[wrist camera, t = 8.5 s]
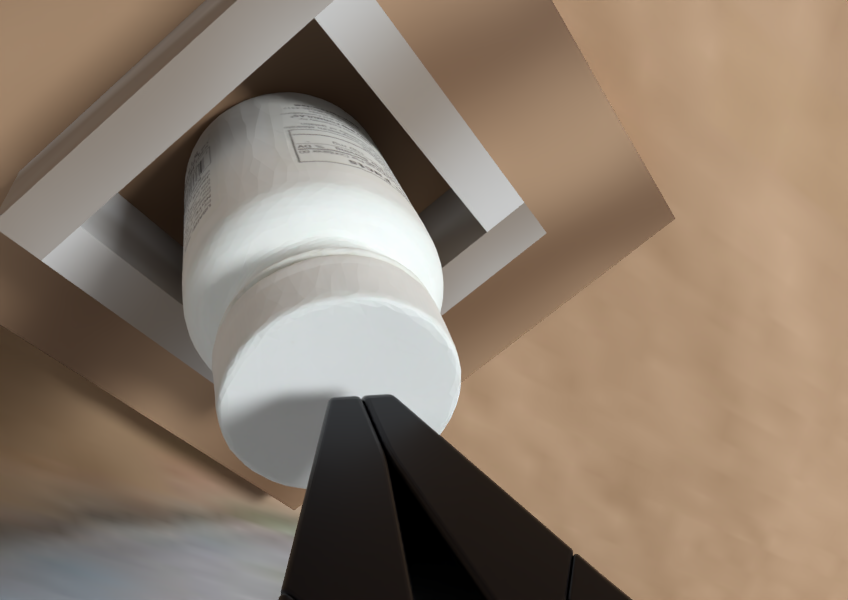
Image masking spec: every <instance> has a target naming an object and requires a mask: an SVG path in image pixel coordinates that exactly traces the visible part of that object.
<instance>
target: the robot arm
mask: <svg viewBox="0 0 848 600" xmlns="http://www.w3.org/2000/svg"><path fill="white" fill-rule="evenodd" d="M279 600H632V599H631V598H630V597H628V596H627V595H626V594H625V593H624V592H622V591H621V590H620V589H619V588H617V587H616V586H615V585H614V584H613V583H611V582H610V581H609V580H608V579H607V578H605V577H604V576H603V575H602V574H600V573H599V572H598V571H597V570H596V569H595V568H593V567H592V566H591V565H590V564H589V563H588V562H587V561H585V560H584V559H583V558H582V557H581V556H580V555H578V554H575V555H573V550H572V549H571V548H570V547H569V546H568V545H567V544H565V543H564V542H563V541H562V540H561V539H560V538H558V537H557V536H556V535H555V534H554V533H553V532H551V531H550V530H549V529H548V528H547V527H546V526H545V525H543V524H542V523H541V522H540V521H539V520H538V519H536V518H535V517H534V516H533V515H532V514H531V513H529V512H528V511H527V510H526V509H525V508H524V507H523V506H521V505H520V504H519V503H518V502H517V501H516V500H514V499H513V498H512V497H511V496H510V495H509V494H507V493H506V492H505V491H504V490H503V489H502V488H501V487H499V486H498V485H497V484H496V483H495V482H494V481H492V480H491V479H490V478H489V477H488V476H487V475H485V474H484V473H483V472H482V471H481V470H480V469H478V468H477V467H476V466H475V465H474V464H473V463H472V462H470V461H469V460H468V459H467V458H466V457H465V456H463V455H462V454H461V453H460V452H459V451H458V450H456V449H455V448H454V447H453V446H452V445H451V444H450V443H448V442H447V441H446V440H445V439H444V438H443V437H441V436H440V435H439V434H438V433H437V432H436V431H434V430H433V429H432V428H431V427H430V426H429V425H428V424H426V423H425V422H424V421H423V420H422V419H421V418H419V417H418V416H417V415H416V414H415V413H414V412H412V411H411V410H410V409H409V408H408V407H407V406H406V405H404V404H403V403H402V402H401V401H400V400H399V399H397V398H396V397H395V396H393V395H391V394H379V395H366V396H364V397H362V398H359V397H358V396H343V397H332V398H330V399H329V401H328V404H327V408H326V412H325V416H324V420H323V424H322V428H321V432H320V436H319V440H318V444H317V448H316V452H315V456H314V460H313V464H312V468H311V472H310V476H309V480H308V484H307V488H306V492H305V497H304V501H303V505H302V509H301V513H300V517H299V521H298V525H297V529H296V533H295V537H294V541H293V545H292V549H291V553H290V557H289V561H288V565H287V569H286V573H285V577H284V581H283V585H282V589H281V596H280V597H279Z"/></svg>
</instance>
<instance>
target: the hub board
mask: <svg viewBox="0 0 848 600" xmlns="http://www.w3.org/2000/svg"><path fill="white" fill-rule="evenodd" d="M280 92H293V93H301V94H306V95H310V96H313V97H317V98H320V99H323V100H325V101H327V102H330V103H332V104H334V105H336V106H337V107H339V108H341V109H342V110H343V111H345V112H346V113H348V114H349V115H350V116H352V117H353V118H354V119H355V120H356V121H357V122H358V123H359V124H360V125H361V126H362V127H363V128H364V129H365V131H366V132H367V133H368V135H369V136H370V138H371V139H372V140H373V142H374V144H375V145H376V147H377V148H378V150H379V151H380V153H381V154H382V156H383V158H384V160H385V161H386V163H387V165H388V166H389V168H390V170H391V171H392V173H393V175H394V176H395V178H396V179H397V181H398V183H399V184H400V186H401V188H402V189H403V191H404V192H405V194H406V196H407V198H408V200H409V201H410V203H411V204H412V206H413V208H414V209H415V211H416V212H417V214H418V216H419V218H420V219H421V221H422V222H423V224H424V226H425V228H426V230H427V232H428V233H429V235H430V237H431V239H432V241H433V243H434V245H435V248H436V250H437V253H438V256H439V259H440V263H441V267H442V274H443V302H442V307H441V312H440V314H441V316H442V318H443V320H444V322H445V324H446V327H447V329H448V331H449V333H450V336H451V338H452V340H453V342H454V345H455V347H456V350H457V353H458V357H459V362H460V367H461V382H462V381H464V380H465V379H466V378H468V377H469V376H470V375H471V374H473V373H474V372H475V371H477V370H478V369H479V368H481V367H482V366H483V365H485V364H486V363H487V362H488V361H490V360H491V359H492V358H494V357H495V356H496V355H498V354H499V353H500V352H502V351H503V350H504V349H505V348H507V347H508V346H509V345H511V344H512V343H513V342H515V341H516V340H517V339H519V338H520V337H521V336H522V335H524V334H525V333H526V332H528V331H529V330H530V329H532V328H533V327H534V326H536V325H537V324H538V323H539V322H541V321H542V320H543V319H545V318H546V317H547V316H549V315H550V314H551V313H553V312H554V311H555V310H556V309H558V308H559V307H560V306H562V305H563V304H564V303H566V302H567V301H568V300H570V299H571V298H572V297H573V296H575V295H576V294H577V293H579V292H580V291H581V290H583V289H584V288H585V287H587V286H588V285H589V284H590V283H592V282H593V281H594V280H596V279H597V278H598V277H600V276H601V275H602V274H604V273H605V272H606V271H607V270H609V269H610V268H611V267H613V266H614V265H615V264H617V263H618V262H619V261H621V260H622V259H623V258H624V257H626V256H627V255H628V254H630V253H631V252H632V251H634V250H635V249H636V248H638V247H639V246H640V245H641V244H643V243H644V242H645V241H647V240H648V239H649V238H651V237H652V236H653V235H655V234H656V233H657V232H658V231H660V230H661V229H662V228H664V227H665V226H666V225H668V224H669V223H670V222H672V221H673V220H674V219H675V217H674V215H673V214H672V212H671V210H670V208H669V207H668V205H667V203H666V201H665V200H664V198H663V196H662V194H661V192H660V191H659V189H658V187H657V185H656V184H655V182H654V180H653V178H652V177H651V175H650V173H649V171H648V169H647V168H646V166H645V164H644V162H643V161H642V159H641V157H640V155H639V154H638V152H637V150H636V148H635V147H634V145H633V143H632V141H631V139H630V138H629V136H628V134H627V132H626V131H625V129H624V127H623V125H622V124H621V122H620V120H619V118H618V116H617V115H616V113H615V111H614V109H613V108H612V106H611V104H610V102H609V101H608V99H607V97H606V95H605V94H604V92H603V90H602V88H601V86H600V85H599V83H598V81H597V79H596V78H595V76H594V74H593V72H592V71H591V69H590V67H589V65H588V63H587V62H586V60H585V58H584V56H583V55H582V53H581V51H580V49H579V48H578V46H577V44H576V42H575V41H574V39H573V37H572V35H571V33H570V32H569V30H568V28H567V26H566V25H565V23H564V21H563V19H562V18H561V16H560V14H559V12H558V10H557V9H556V7H555V5H554V3H553V2H552V0H0V325H1V326H3V327H5V328H6V329H8V330H9V331H11V332H12V333H14V334H16V335H17V336H19V337H20V338H22V339H24V340H25V341H27V342H28V343H30V344H31V345H33V346H35V347H36V348H38V349H39V350H41V351H43V352H44V353H46V354H47V355H49V356H50V357H52V358H54V359H55V360H57V361H58V362H60V363H62V364H63V365H65V366H66V367H68V368H69V369H71V370H73V371H74V372H76V373H77V374H79V375H81V376H82V377H84V378H85V379H87V380H88V381H90V382H92V383H93V384H95V385H96V386H98V387H100V388H101V389H103V390H104V391H106V392H107V393H109V394H111V395H112V396H114V397H115V398H117V399H119V400H120V401H122V402H123V403H125V404H126V405H128V406H130V407H131V408H133V409H134V410H136V411H138V412H139V413H141V414H142V415H144V416H146V417H147V418H149V419H150V420H152V421H153V422H155V423H157V424H158V425H160V426H161V427H163V428H165V429H166V430H168V431H169V432H171V433H172V434H174V435H176V436H177V437H179V438H180V439H182V440H184V441H185V442H187V443H188V444H190V445H191V446H193V447H195V448H196V449H198V450H199V451H201V452H203V453H204V454H206V455H207V456H209V457H210V458H212V459H214V460H215V461H217V462H218V463H220V464H222V465H223V466H225V467H226V468H228V469H229V470H231V471H233V472H234V473H236V474H237V475H239V476H241V477H242V478H244V479H245V480H247V481H248V482H250V483H252V484H253V485H255V486H256V487H258V488H260V489H261V490H263V491H264V492H266V493H267V494H269V495H271V496H272V497H274V498H275V499H277V500H279V501H280V502H282V503H283V504H285V505H287V506H288V507H290V508H291V509H293V510H295V509H296V508H298V507H299V506H300V505H302V504H303V501H304V497H305V492H306V489H303V488H296V487H290V486H285V485H282V484H279V483H276V482H273V481H271V480H269V479H267V478H265V477H263V476H261V475H259V474H257V473H255V472H254V471H252V470H251V469H250V468H248V467H247V466H246V465H244V464H243V462H242V461H241V460H239V459H238V458H237V457H236V455H235V454H234V453H233V452H232V451H231V450H230V449H229V447H228V445H227V443H226V441H225V439H224V437H223V435H222V432H221V429H220V426H219V423H218V418H217V413H216V407H215V391H214V380H213V374H212V371H211V370H210V368H209V367H208V366H207V365H206V363H205V362H204V361H203V360H202V358H201V357H200V355H199V354H198V352H197V350H196V349H195V347H194V345H193V343H192V340H191V338H190V335H189V332H188V329H187V325H186V321H185V318H184V310H183V297H182V269H183V241H184V190H185V176H186V171H187V165H188V162H189V159H190V156H191V153H192V151H193V149H194V147H195V145H196V143H197V141H198V140H199V138H200V136H201V135H202V133H203V132H204V131H205V129H206V128H207V127H208V126H209V125H210V124H211V123H212V122H213V121H214V120H215V119H216V118H217V117H218V116H219V115H221V114H222V113H224V112H225V111H227V110H228V109H230V108H231V107H233V106H235V105H237V104H239V103H241V102H243V101H245V100H248V99H251V98H253V97H257V96H261V95H265V94H271V93H280Z"/></svg>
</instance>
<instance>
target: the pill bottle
mask: <svg viewBox="0 0 848 600" xmlns="http://www.w3.org/2000/svg"><path fill="white" fill-rule="evenodd" d="M182 297H183V310H184V318H185V321H186V325H187V329H188V332H189V335H190V338H191V340H192V343H193V345H194V347H195V349H196V350H197V352H198V354H199V355H200V357H201V358H202V360H203V361H204V362H205V363H206V365H207V366H208V367H209V368H210V370H211V371H212V374H213V380H214V391H215V407H216V413H217V418H218V423H219V426H220V429H221V432H222V435H223V437H224V439H225V441H226V443H227V445H228V447H229V449H230V450H231V451H232V452H233V453H234V454H235V455H236V457H237V458H238V459H239V460H241V461H242V462H243V464H244V465H246V466H247V467H248V468H250V469H251V470H252V471H254V472H255V473H257V474H259V475H261V476H263V477H265V478H267V479H269V480H271V481H273V482H276V483H279V484H282V485H285V486H290V487H296V488H303V489H306V488H307V484H308V480H309V476H310V472H311V468H312V464H313V460H314V456H315V452H316V448H317V444H318V440H319V436H320V432H321V428H322V424H323V420H324V416H325V412H326V408H327V404H328V401H329V399H330V398H332V397H343V396H358V397H359V398H362V397H364V396H366V395H379V394H391V395H393V396H395V397H396V398H397V399H399V400H400V401H401V402H402V403H403V404H404V405H406V406H407V407H408V408H409V409H410V410H411V411H412V412H414V413H415V414H416V415H417V416H418V417H419V418H421V419H422V420H423V421H424V422H425V423H426V424H428V425H429V426H430V427H431V428H432V429H433V430H434V431H436V432H437V433H438V434H439V435H440V434H441V433H442V431H443V430H444V428H445V427H446V425H447V423H448V422H449V420H450V419H451V416H452V414H453V412H454V409H455V407H456V405H457V401H458V397H459V394H460V385H461V367H460V362H459V357H458V353H457V350H456V347H455V345H454V342H453V340H452V338H451V336H450V333H449V331H448V329H447V327H446V324H445V322H444V320H443V318H442V316H441V314H440V312H441V307H442V302H443V274H442V267H441V263H440V259H439V256H438V253H437V250H436V248H435V245H434V243H433V241H432V239H431V237H430V235H429V233H428V232H427V230H426V228H425V226H424V224H423V222H422V221H421V219H420V218H419V216H418V214H417V212H416V211H415V209H414V208H413V206H412V204H411V203H410V201H409V200H408V198H407V196H406V194H405V192H404V191H403V189H402V188H401V186H400V184H399V183H398V181H397V179H396V178H395V176H394V175H393V173H392V171H391V170H390V168H389V166H388V165H387V163H386V161H385V160H384V158H383V156H382V154H381V153H380V151H379V150H378V148H377V147H376V145H375V144H374V142H373V140H372V139H371V138H370V136H369V135H368V133H367V132H366V131H365V129H364V128H363V127H362V126H361V125H360V124H359V123H358V122H357V121H356V120H355V119H354V118H353V117H352V116H350V115H349V114H348V113H346V112H345V111H343V110H342V109H341V108H339V107H337V106H336V105H334V104H332V103H330V102H327V101H325V100H323V99H320V98H317V97H313V96H310V95H306V94H301V93H293V92H280V93H271V94H265V95H261V96H257V97H253V98H251V99H248V100H245V101H243V102H241V103H239V104H237V105H235V106H233V107H231V108H230V109H228V110H227V111H225V112H224V113H222V114H221V115H219V116H218V117H217V118H216V119H215V120H214V121H213V122H212V123H211V124H210V125H209V126H208V127H207V128H206V129H205V131H204V132H203V133H202V135H201V136H200V138H199V140H198V141H197V143H196V145H195V147H194V149H193V151H192V153H191V156H190V159H189V162H188V165H187V171H186V176H185V190H184V241H183V269H182Z"/></svg>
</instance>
